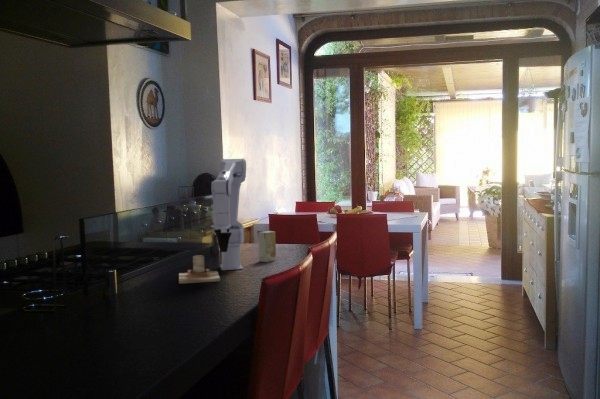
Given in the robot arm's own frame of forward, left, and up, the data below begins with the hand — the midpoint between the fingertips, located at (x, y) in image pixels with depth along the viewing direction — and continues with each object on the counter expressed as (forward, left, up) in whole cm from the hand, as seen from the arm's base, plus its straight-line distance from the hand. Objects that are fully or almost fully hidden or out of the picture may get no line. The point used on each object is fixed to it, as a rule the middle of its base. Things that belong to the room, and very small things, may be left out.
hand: (223, 250), depth 212 cm
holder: (+2, -9, -9) cm, 13 cm away
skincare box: (-26, +20, -10) cm, 34 cm away
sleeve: (+2, -9, -8) cm, 12 cm away
